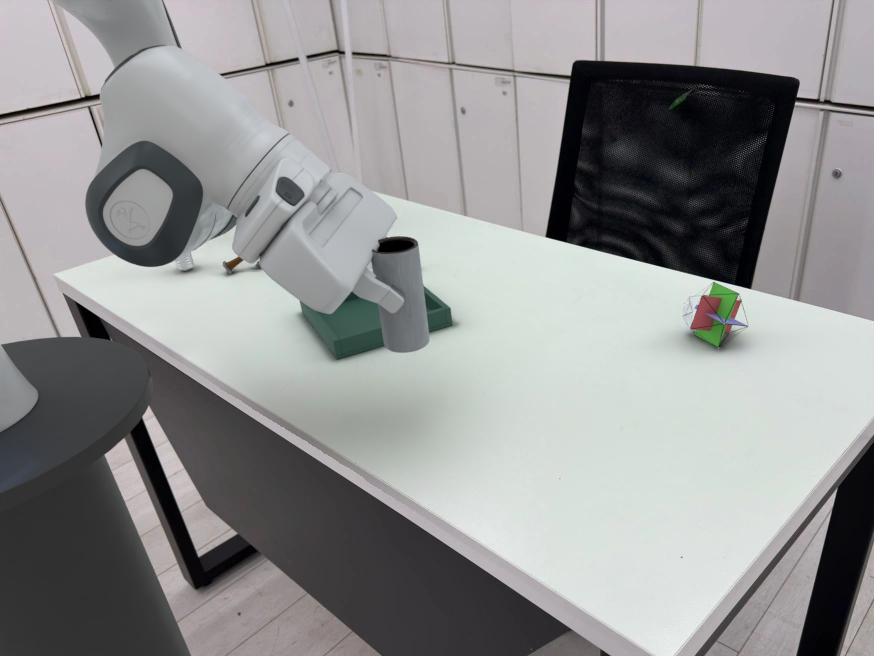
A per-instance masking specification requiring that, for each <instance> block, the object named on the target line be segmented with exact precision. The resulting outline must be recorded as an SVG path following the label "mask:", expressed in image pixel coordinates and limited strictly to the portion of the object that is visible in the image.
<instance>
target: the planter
mask: <svg viewBox="0 0 874 656" xmlns="http://www.w3.org/2000/svg"><path fill="white" fill-rule="evenodd" d="M378 243H379V245H380V246H379V248H378V250H377V251H375V250H374V249H372V252H373V258H372V260H371V263H372V270H373V273H374V274H375V275H376V277H375V279H377V280H379V281H381V282H382V283H384V284H386V285H388V286H390V287H391V286H392V285H394V286H396V287H397V288H398V289H399V290H400V291H402V292H403V293H404V294H405V295H406V298H405V301H404V304H403V305H402V307H401V308H400V309H399V310H398V311H397V312H396V313H390V312H389V311H387V310H386V309H385V308H383V307H382V306H381V305H380V304H378V309H379V315H380V322H381V328H382V334H383V341H384V347H385V348H386V350H388V351H389V352H393V353H398V354H406V353H407V354H408V353H413V352H414V353H415V352H416V351H419V350H422V349H424V348H425V347H426V346H427V345H428V344H429V343H430V332H429V329H428V321H427V312H426V304H425V295H424V287H423V286H424V280H423V272H422V263H421V262H422V261H421V254H420V244H419V241H418V240H417V239H415V238H413V237H411V236H403V235H402V236H401V235H397V236H387V238H383V239H380V240H378Z"/></svg>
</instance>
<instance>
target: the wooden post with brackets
mask: <svg viewBox="0 0 874 656" xmlns="http://www.w3.org/2000/svg"><path fill="white" fill-rule="evenodd" d="M242 262H245V261H244V260H243V259H241V258H240V257H239V256H237V257H236V258H233V259H231V260H229V261H226V260H224V261H222V267H223V268H224V269H225V270H226V271H227V273H228V274H229V275H231V274H233V270H234V269H235V268H236V267H238V265H239V264H241V263H242ZM255 268H256V269H259V268H260V269H262V268H261V266H260V263H259V261H256V264H255Z"/></svg>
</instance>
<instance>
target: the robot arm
mask: <svg viewBox="0 0 874 656" xmlns="http://www.w3.org/2000/svg"><path fill="white" fill-rule="evenodd" d="M50 1H51V2H52V3H54V4H55V5H57V6H59V7H60V8H61V9H63V10H64V11H66V12H67V13H69V14H70V15H71V16H72V17H74V18H75V19H76V20H77V21H79V22H80V23H81V24H82V25H83V26H84V27H85V28H87V29H88V30H89V32H91V34H92V35H93V36H94V38H96V39H97V40H98V42H99V43H100V44H101V46H102V47H103V48H104V50H105V52H106V54H107V55H108V57H109V59H110V61H111V63H112V65H113V70H112V71H111V72H110V73H109V74H108V76H106V78H105V79H104V82H103V85H102V87H101V88H100V92H99V101H100V105H101V109H102V113H103V119H104V120H103V137H102V144H101V149H100V155H99V159H98V163H97V166H96V171H95V174H94V176H93V178H92V180H91V181H90V183H89V185H88V187H87V190H86V193H85V201H84V205H85V206H84V207H85V214H86V218H87V221H88V224H89V226H90V228H91V230H92V232H93V233H94V235H95V236H96V238H97V240H98V241H99V242H100V243H101V244H102V245H103V246H104V247H105V248H106V249H107V250H108V251H109V252H111V253H112V254H113V255H115V256H116V257H117V258H119V259H121V260H123V261H124V262H127V263H129V264H132V265H135V266H139V267H145V268H158V267H162V266H166V265H169V264H171V263H175V261H176V260H179V259H180V258H182V257H184V256H186V255H187V254H189V253H190V252H191V253H192V252H193V251H196V250H197V249H199V248H200V247H202V246H204V244H206V243H207V242H209V241H211V240H213V239H216V238H218V237H221V236H223V235H225V234H227V233H228V232H230V231H231V230H232V229H234V228H235V232H234V235H233V239H232V244H231V249H232V251H233V253H234V254H235V255H236V256H237V257H240V258H241V259H243V260H244V261H243V262H246V263H248V264H255V263H257V262H259V263H260V266H261V268H260V269H261V270H262V271H263V272H264V273H265V274H266V276H268V277H269V278H270V279H271V281H273V282H274V283H276V284H277V285H278V286H280V287H281V288H282V289H283V290H285V291H286V292H287V293H289V294H290V295H291V296H293V297H294V298H295V299H297V300H298V301H299V300H300V301H301V302H303V303H304V304H305V305H307V306H308V307H310V308H311V309H313V310H315V311H318V312H322V313H326V314H332V313H333V312H334V311H335V310H336V309H337V308H338V307H339V306H340V305H341V304H342V302H343V301H344V300H345V299H346V298H347V296H348V295H349V294H350V293H351V292H353V293H354V294H356V295H357V296H358V297H360V298H363V299H366V300H368V301H371V302H374V303H377V304H380V305H381V306H382V307H383V308H385V309H386V310H387V311H389V312H390V313H396V312H397V311H398V310H399V309H400V308H401V307H402V305H403V304H404V301H405V298H406V295H405V294H404V293H403V292H402V291H400V290H399V289H398V288H397V287H396V286H394V285H392V286H391V287H390V286H388V285H386V284H384V283H382V282H381V281H379V280H377V279H375V277H376V275H375V274H374V273H372V272H371V271H370V270H369V269H368V268H367V266H368V264H369V263H370V261H371V260H372V258H373V252H372V249H374V250H375V251H377V250H378V248H379V246H380V245H379V243H378V240H380V239H383V238H387V237H388V234H389V233H390V231H391V229H392V228H393V226H394V224H395V223H396V221H397V219H398V215H397V213H396V212H395V210H394V209H393V208H392V206H391V205H390V204H389V203H388V202H386V201H385V200H384V199H382V197H380V196H379V195H378V194H376V193H375V192H373V191H372V189H370V188H368V187H367V186H365V185H364V184H363V183H361V182H360V181H359V180H358V179H356V178H354V177H353V176H351V175H350V174H348V173H345V172H339V171H338V172H335V171H334V170H333V169H332V167H331V166H330V165H328V164H327V163H326V162H325V161H323V160H322V159H321V158H320V157H319V156H318V155H316V154H315V153H314V152H313V151H311V150H310V149H309V148H308V147H307V146H306V145H305V144H303V143H302V142H301V141H300V140H298V139H297V138H296V137H295V136H294V134H292V133H291V132H289V131H288V130H286V129H285V128H283V127H281V126H279V125H276V124H274V123H273V122H271V121H270V120H268V119H267V118H266V117H264V115H263V114H262V113H261V112H260V111H259V109H257V107H256V106H255V104H254V103H253V101H252V100H251V99H250V98H249V97H248V96H247V95H246V94H245V93H243V92H242V91H241V90H240V89H239V88H238V87H236V86H235V85H234V84H233V83H232V82H230V81H229V80H227V79H226V78H225V77H224V76H222V75H221V74H220V73H219V72H217V71H216V70H214V69H213V68H212V67H211V66H209V65H208V64H206V63H205V62H204V61H202V60H201V59H200V58H197V57H196V56H195V55H193V54H191V53H190V52H188V51H187V50H184V49H183V47H182V44H181V42H180V39H179V37H178V34H177V32H176V30H175V26H174V24H173V23H174V22H173V20H172V17H171V16H170V13H169V11H168V8H167V6H166V4H165V2H164V0H50ZM300 301H299V302H300ZM37 400H38V391H37V390H36V388H35V387H34V386H33V385H32V384H31V383H30V382H29V381H28V380H27V379H26V378H25V377H24V376H23V375H22V374H21V372H20V371H19V370H18V369H17V367H16V366H15V365H14V363H13V362H12V361H11V359H10V358H9V356H8V355H7V353H6V352H5V350H4V349H3V347H2V346H1V343H0V432H2V431H3V430H5V429H7V428H9V427H10V426H12V425H13V424H15V423H16V422H18V421H19V420H20V419H22V418H23V417H24V416H25V415H27V414H28V413H29V412H30V411H31V410H32V408H33V407H34V406H35V404H36V402H37Z"/></svg>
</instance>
